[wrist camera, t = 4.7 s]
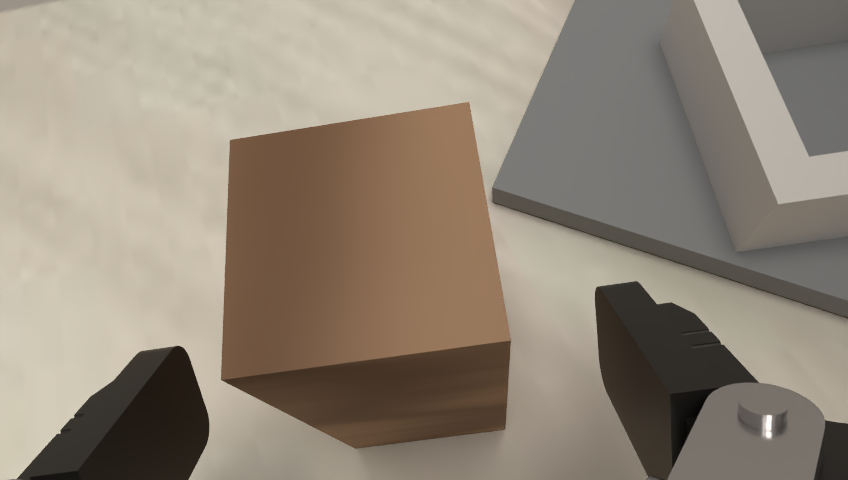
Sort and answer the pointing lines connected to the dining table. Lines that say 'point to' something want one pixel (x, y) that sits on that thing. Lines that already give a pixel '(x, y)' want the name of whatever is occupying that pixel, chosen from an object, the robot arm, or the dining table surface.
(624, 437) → the dining table surface
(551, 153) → the socket plate
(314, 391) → the walnut peg
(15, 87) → the dining table surface
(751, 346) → the dining table surface
